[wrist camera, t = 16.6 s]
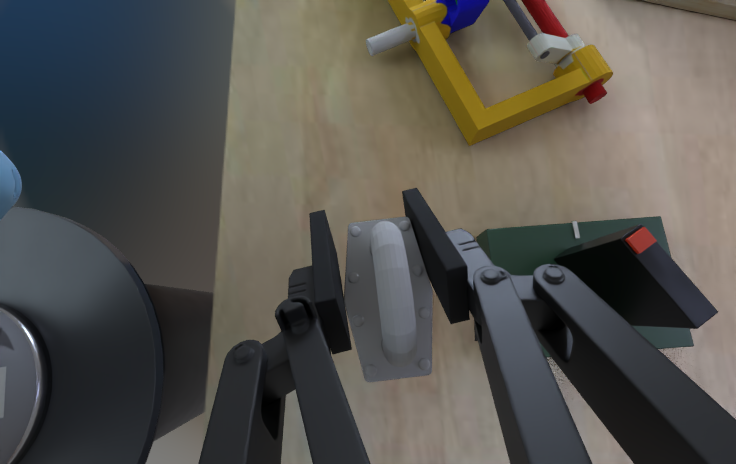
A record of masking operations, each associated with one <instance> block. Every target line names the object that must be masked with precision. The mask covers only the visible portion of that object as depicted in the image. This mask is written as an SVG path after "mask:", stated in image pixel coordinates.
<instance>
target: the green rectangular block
mask: <svg viewBox="0 0 736 464" xmlns="http://www.w3.org/2000/svg"><path fill="white" fill-rule="evenodd" d="M571 222H572V223H564V224H551V225H537V226H524V227H511V228H497V229H487V230H485V231H484V232H483V233H481V234H480V235H479V236H477V243H478V244H479V246H480V247H481V248H482V250H483V251H484V252H485V254H486V255H487V256H488V258H489V259H490V260H491V262H492V263H493V264H494V266H497V267H501V268H503V269H505V270H506V271H507V272H508V273H509V274H510V275H517V276H531V275H534V271H535V269H536V268H537V267H539V266H541V265H546V264H556V265H558V264H557V263H556V262H555V260H554V258H556V257H557V256H558V255H560V254H561V253H563V252H564V251H565V250H567V249H568V248H570V247H573V246H576V245H579V244H582V243H585V242H588V241H591V240H594V239H597V238H600V237H603V236H606V235H609V234H612V233H615V232H618V231H621V230H624V229H627V228H630V227H633V226H635V225H638V224H642V225H643V226H644V227H645V228H646V229H647V230H648V231H649V232H650V233H651V234H652V236H653V237H654V238H655V239H656V240H657V242H658V244H659V245H660V246H661V247H662V248H663V249H664V250H665V252H666V253H667V254H668V255H669V256H670V257H671V255H670V251H669V247H668V243H667V239H666V235H665V231H664V227H663V224H662V220H661V217H660V216H658V217H644V218H631V219H618V220H604V221H591V222H577V221H571ZM633 327H634V328H635V329H636V330H637V331H638V332H639V333H640V334H641V335H643V336H644V337H645V338H646V339H647V340H648V341H649V342H650V343H651V344H653V345H654V346H655V347H656V348H657V349H664V348H677V347H691V346H694V344H693V340H692V336H691V332H690V328H671V327H650V326H633ZM539 343H540V342H539ZM540 345H541V347H542V350H543V352H544V354H545V357H551V356H550V355H549V353H548V352H547V351H546V349H545V348H544V347H543V346H542V344H541V343H540Z"/></svg>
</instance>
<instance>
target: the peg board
mask: <svg viewBox="0 0 736 464" xmlns="http://www.w3.org/2000/svg"><path fill="white" fill-rule="evenodd" d="M643 1H647V2H651V3H656V4H661V5H665V6H670V7H675V8H680V9H685V10H690V11H694V12H699V13H704V14H709V15H714V16H718V17H723V18H728V19H733V20H736V0H643Z"/></svg>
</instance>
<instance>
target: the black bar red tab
mask: <svg viewBox="0 0 736 464" xmlns="http://www.w3.org/2000/svg"><path fill="white" fill-rule="evenodd" d="M554 260H555V262H556V263H557V264H558V265H560V266H563V267H566V268H567V269H569V270H570V271H572V272H573V273H574V274H575V275H576V276H577V277H578V278H579V279H580V280H582V281H583V282H584V283H585V284H586V285H587V286H588V287H589V288H590V289H592V290H593V291H594V292H595V293H596V294H597V295H598V296H599V297H600V298H602V299H603V300H604V301H605V302H606V303H607V304H608V305H609V306H610V307H612V308H613V309H614V310H615V311H616V312H617V313H618V314H619V315H620V316H622V317H623V318H624V319H625V320H626V321H627V322H628V323H629V324H630V325H631V326H650V327H671V328H693V329H697V328H699V327H700V326H701V325H703V324H704V323H705V322H706V321H708V320H709V319H710V318H711V317H713V316H714V315H715V314H716V313H718V311H717V310H716V309H715V308H714V307H713V305H712V304H711V303H710V302H709V301H708V300H707V299H706V297H705V296H704V295H703V294H702V293H701V292H700V291H699V289H698V288H697V287H696V286H695V285H694V284H693V283H692V281H691V280H690V279H689V278H688V277H687V276H686V275H685V273H684V272H683V271H682V270H681V269H680V268H679V266H678V265H677V264H676V263H675V262H674V261H673V260H672V258H671V257H670V256H669V255H668V254H667V253H666V252H665V250H664V249H663V248H662V247H661V246H660V245H659V244H658V242H657V240H656V239H655V238H654V237H653V236H652V234H651V233H650V232H649V231H648V230H647V229H646V228H645V227H644V226H643V225H642V224H638V225H635V226H633V227H630V228H627V229H624V230H621V231H618V232H615V233H612V234H609V235H606V236H603V237H600V238H597V239H594V240H591V241H588V242H585V243H582V244H579V245H576V246H573V247H570V248H568V249H567V250H565V251H564V252H563V253H561V254H560V255H558V256H557V257H556V258H554Z"/></svg>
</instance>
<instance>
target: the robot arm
mask: <svg viewBox="0 0 736 464" xmlns="http://www.w3.org/2000/svg"><path fill="white" fill-rule="evenodd" d="M21 189H22V183H21V178H20V175H19V173H18V171H17V169H16V167H15V166H14V165H13V163H12V162H11V161H10V160H9V159H8V158H7V156H6V155H5V154H4V153H2V152H1V150H0V220H1V219H2V218H3V217H4V215H5V214H6V213H7V212H8V211H9V210H10V209H11V207H12V206H13V205H14V204H15V203H16V201H17V200H18V198H19V196H20V193H21ZM402 194H403V201H404V208H405V215H406V217H408V218H409V219H410V222H411V225H412V228H413V231H414V235H415V238H416V241H417V244H418V247H419V250H420V253H421V256H422V259H423V263H424V266H425V269H426V272H427V275H428V277H429V280H430V282H431V284H432V286H433V288H434V290H435V292H436V294H437V296H438V298H439V300H440V302H441V305H442V307H443V309H444V311H445V313H446V315H447V317H448V319H449V321H450V323H451V324H454V323H458V322H462V321H466V320H470V318H469V310H470V312H471V314H472V315H473V317H474V327H475V341H478V343H479V346H480V350H481V354H482V358H483V362H484V365H485V369H486V373H487V377H488V380H489V384H490V388H491V392H492V396H493V399H494V403H495V407H496V411H497V414H498V418H499V422H500V426H501V430H502V433H503V437H504V441H505V445H506V448H507V452H508V456H509V460H510V464H592V462H591V460H590V457H589V455H588V453H587V450H586V448H585V446H584V444H583V441H582V439H581V437H580V434H579V432H578V430H577V428H576V425H575V423H574V421H573V418H572V416H571V414H570V412H569V409H568V407H567V405H566V402H565V400H564V398H563V395H562V393H561V391H560V389H559V386H558V384H557V382H556V379H555V377H554V375H553V373H552V370H551V368H550V366H549V363H548V361H547V359H546V357H545V354H544V352H543V350H542V347H541V345H540V343H541V344H542V346H543V347H544V348H545V349H546V351H547V352H548V353H549V355H550V356H551V357H552V358H553V360H554V361H555V362H556V364H557V365H558V366H559V367H560V369H561V370H562V371H563V373H564V374H565V375H566V376H567V378H568V379H569V380H570V382H571V383H572V384H573V385H574V387H575V388H576V389H577V391H578V392H579V393H580V394H581V396H582V397H583V398H584V400H585V401H586V402H587V404H588V405H589V406H590V407H591V409H592V410H593V411H594V413H595V414H596V415H597V416H598V418H599V419H600V420H601V422H602V423H603V424H604V425H605V427H606V428H607V429H608V431H609V432H610V433H611V434H612V436H613V437H614V438H615V440H616V441H617V442H618V443H619V445H620V446H621V447H622V449H623V450H624V451H625V452H626V454H627V455H628V456H629V458H630V459H631V460H632V461H633V463H634V464H736V419H735V418H733V417H732V416H731V415H730V414H729V413H728V412H727V411H726V410H725V409H723V408H722V407H721V406H720V405H719V404H718V403H717V402H716V401H715V400H714V399H712V398H711V397H710V396H709V395H708V394H707V393H706V392H705V391H704V390H702V389H701V388H700V387H699V386H698V385H697V384H696V383H695V382H694V381H692V380H691V379H690V378H689V377H688V376H687V375H686V374H685V373H684V372H682V371H681V370H680V369H679V368H678V367H677V366H676V365H675V364H674V363H672V362H671V361H670V360H669V359H668V358H667V357H666V356H665V355H664V354H663V353H661V352H660V351H659V350H658V349H657V348H656V347H655V346H654V345H653V344H651V343H650V342H649V341H648V340H647V339H646V338H645V337H644V336H643V335H641V334H640V333H639V332H638V331H637V330H636V329H635V328H634V327H633V326H631V325H630V324H629V323H628V322H627V321H626V320H625V319H624V318H623V317H622V316H620V315H619V314H618V313H617V312H616V311H615V310H614V309H613V308H612V307H610V306H609V305H608V304H607V303H606V302H605V301H604V300H603V299H602V298H600V297H599V296H598V295H597V294H596V293H595V292H594V291H593V290H592V289H590V288H589V287H588V286H587V285H586V284H585V283H584V282H583V281H582V280H580V279H579V278H578V277H577V276H576V275H575V274H574V273H573V272H572V271H570V270H569V269H567V268H566V267H563V266H560V265H556V264H546V265H541V266H539V267H537V268H536V269H535V271H534V275H531V276H517V275H510V274H509V273H508V272H507V271H506V270H505V269H503V268H501V267H497V266H494V264H493V263H492V262H491V260H490V259H489V258H488V256H487V255H486V254H485V252H484V251H483V250H482V248H481V247H480V246H479V244H478V243H477V242H476V241H475V239H474V238H473V236H472V235H471V234H470V233H469V232H467V231H465V230H463V229H461V228H460V229H456V230H452V231H448V232H445V230H444V229H443V227H442V226H441V224H440V223H439V221H438V220H437V218H436V217H435V215H434V214H433V212H432V211H431V209H430V207H429V206H428V204H427V203H426V201H425V200H424V198H423V197H422V195H421V194H420V192H419V191H418V189H417V188H414V189H410V190H405V191H402ZM310 231H311V249H312V266H308V267H304V268H300V269H296V270H293V272H292V274H291V276H290V277H289V286H288V287H289V289H288V299H286V300H284V301H283V302H282V303H281V304H280V305H279V306H278V307H277V309H276V311H275V317H276V320H277V322H278V324H279V326H280V328H281V332H280V333H279V334H278V335H277V336H275V337H274V338H272V339H270V340H268V341H267V342H265V343H263V344H261V343H260V342H259V341H256V340H246V341H243V342H240V343H239V344H237V345H236V346H234V347H233V348H232V349H231V350H230V351H229V352H228V354H227V356H226V358H225V361H224V365H223V369H222V373H221V377H220V380H219V384H218V388H217V392H216V396H215V400H214V404H213V408H212V412H211V416H210V420H209V424H208V428H207V432H206V436H205V440H204V444H203V448H202V452H201V456H200V460H199V464H281V453H282V439H283V426H284V412H285V398H286V394H288V393H290V392H291V391H293V390H295V389H296V393H297V398H298V402H299V406H300V410H301V415H302V419H303V423H304V428H305V432H306V436H307V440H308V445H309V449H310V453H311V458H312V462H313V464H370V461H369V458H368V456H367V453H366V450H365V447H364V445H363V442H362V439H361V437H360V434H359V431H358V428H357V426H356V423H355V420H354V417H353V415H352V412H351V409H350V406H349V404H348V401H347V398H346V395H345V393H344V390H343V387H342V384H341V382H340V379H339V376H338V373H337V371H336V368H335V365H334V362H333V360H332V357H331V351H332V354H336V353H340V352H344V351H348V350H352V348H351V341H350V335H349V329H348V322H347V316H346V309H345V303H344V297H343V290H342V284H341V277H340V271H339V264H338V258H337V252H336V249H335V245H334V242H333V238H332V235H331V231H330V228H329V224H328V221H327V217H326V214H325V210H322V211H317V212H313V213H310ZM539 342H540V343H539ZM330 348H331V350H330ZM51 393H52V365H51V359H50V355H49V351H48V348H47V346H46V343H45V341H44V339H43V337H42V335H41V334H40V332H39V330H38V329H37V328H36V326H35V325H34V324H33V323H32V322H31V321H30V320H29V319H28V318H27V317H26V316H25V315H23V314H22V313H21V312H19V311H18V310H16V309H14V308H12V307H10V306H8V305H5V304H2V303H0V464H19V462H20V461H21V460H22V459H23V458H24V456H25V455H26V454H27V452H28V451H29V449H30V448H31V446H32V445H33V443H34V442H35V440H36V438H37V436H38V434H39V432H40V430H41V428H42V425H43V423H44V421H45V418H46V415H47V412H48V408H49V404H50V399H51Z"/></svg>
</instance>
